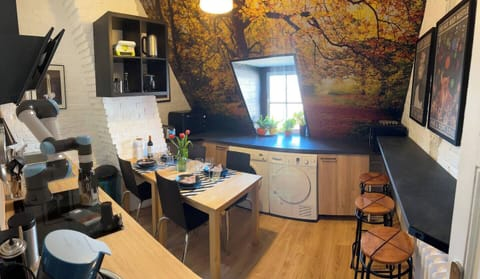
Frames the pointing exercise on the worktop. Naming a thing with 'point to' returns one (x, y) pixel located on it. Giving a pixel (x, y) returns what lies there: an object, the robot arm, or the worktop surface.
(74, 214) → the block
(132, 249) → the worktop surface
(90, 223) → the panel
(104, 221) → the scope
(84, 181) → the coffee box
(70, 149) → the robot arm
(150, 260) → the worktop surface
